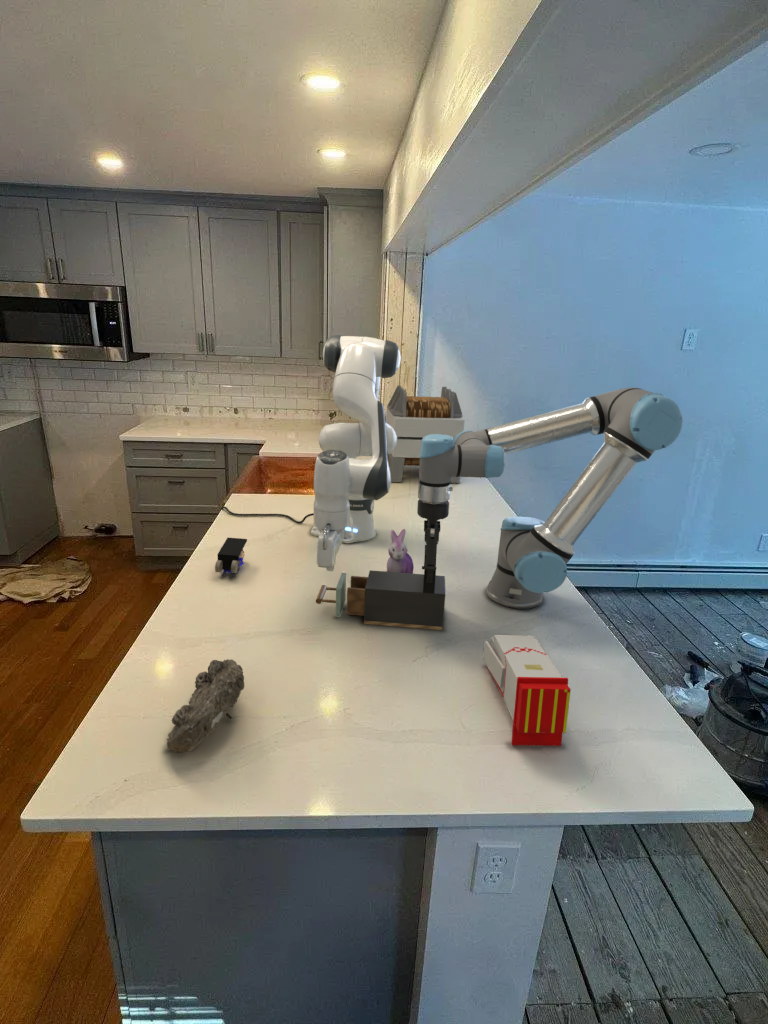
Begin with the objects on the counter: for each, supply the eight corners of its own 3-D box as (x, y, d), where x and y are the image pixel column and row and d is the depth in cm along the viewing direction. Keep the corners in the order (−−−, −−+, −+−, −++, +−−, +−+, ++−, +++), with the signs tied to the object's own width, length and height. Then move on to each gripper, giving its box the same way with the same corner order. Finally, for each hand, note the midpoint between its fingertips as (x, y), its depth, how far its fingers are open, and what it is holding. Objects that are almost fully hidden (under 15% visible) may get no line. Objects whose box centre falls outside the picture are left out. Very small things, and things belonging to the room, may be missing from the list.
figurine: (393, 588, 161) (395, 539, 156) (376, 573, 169) (378, 526, 164) (421, 582, 165) (425, 534, 160) (404, 568, 173) (407, 522, 168)
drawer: (314, 615, 143) (314, 586, 141) (321, 597, 152) (321, 571, 149) (408, 622, 142) (410, 594, 139) (409, 604, 150) (411, 577, 148)
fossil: (192, 660, 117) (244, 628, 112) (224, 691, 120) (276, 661, 115) (142, 746, 98) (202, 712, 93) (182, 779, 101) (242, 748, 96)
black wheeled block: (238, 584, 162) (249, 557, 175) (236, 562, 158) (247, 536, 172) (215, 584, 161) (227, 556, 175) (212, 561, 158) (225, 535, 171)
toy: (531, 618, 129) (580, 685, 100) (526, 672, 132) (572, 753, 102) (478, 617, 129) (511, 684, 99) (475, 671, 131) (505, 752, 102)
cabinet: (363, 623, 142) (365, 588, 139) (368, 603, 152) (369, 570, 149) (442, 630, 141) (445, 594, 138) (441, 609, 151) (444, 575, 147)
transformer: (382, 463, 289) (386, 382, 275) (445, 464, 293) (451, 384, 279) (390, 482, 257) (394, 392, 243) (460, 483, 261) (468, 394, 247)
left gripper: (337, 534, 129) (336, 588, 133) (350, 505, 148) (348, 553, 153) (310, 532, 129) (310, 586, 134) (326, 503, 148) (325, 551, 153)
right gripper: (451, 518, 123) (444, 605, 130) (448, 485, 147) (442, 560, 154) (416, 517, 124) (412, 603, 131) (419, 483, 147) (415, 558, 154)
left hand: (331, 568), depth 143 cm, fingers closed
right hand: (428, 580), depth 142 cm, fingers open, 13 cm apart
